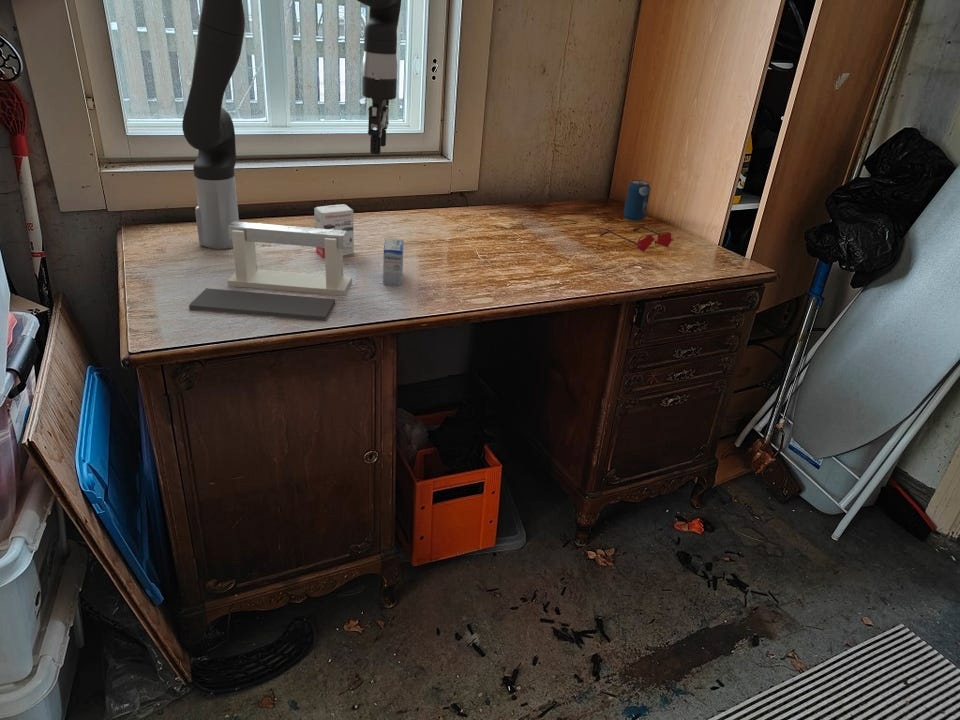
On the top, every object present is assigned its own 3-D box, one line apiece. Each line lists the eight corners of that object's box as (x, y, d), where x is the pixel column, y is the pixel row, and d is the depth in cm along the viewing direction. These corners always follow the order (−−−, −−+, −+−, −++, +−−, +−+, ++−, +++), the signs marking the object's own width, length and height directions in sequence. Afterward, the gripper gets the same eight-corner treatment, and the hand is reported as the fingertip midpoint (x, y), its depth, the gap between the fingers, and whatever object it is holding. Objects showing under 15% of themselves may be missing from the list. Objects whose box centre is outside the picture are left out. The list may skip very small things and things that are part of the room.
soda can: (646, 222, 220) (653, 185, 214) (624, 221, 220) (631, 183, 214) (642, 216, 226) (649, 180, 220) (621, 214, 226) (627, 178, 220)
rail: (229, 239, 150) (227, 226, 148) (235, 234, 153) (233, 221, 152) (343, 249, 150) (343, 235, 148) (346, 243, 153) (346, 230, 152)
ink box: (323, 258, 172) (321, 212, 166) (315, 252, 175) (313, 206, 169) (354, 254, 176) (354, 209, 170) (346, 248, 179) (345, 203, 174)
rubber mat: (189, 309, 141) (188, 305, 140) (206, 292, 149) (206, 288, 148) (325, 321, 141) (325, 316, 140) (335, 303, 149) (335, 299, 148)
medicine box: (384, 272, 166) (384, 238, 162) (402, 273, 167) (403, 239, 163) (382, 285, 160) (383, 249, 155) (402, 286, 160) (402, 250, 156)
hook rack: (228, 285, 153) (222, 231, 147) (240, 272, 160) (235, 220, 154) (344, 295, 153) (343, 241, 147) (351, 282, 160) (351, 230, 154)
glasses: (637, 254, 193) (641, 237, 191) (599, 236, 205) (601, 220, 203) (672, 248, 200) (676, 232, 198) (633, 231, 212) (636, 215, 210)
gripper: (368, 69, 157) (367, 142, 165) (357, 76, 145) (356, 154, 153) (400, 72, 158) (398, 145, 165) (392, 80, 145) (390, 158, 153)
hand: (378, 149), depth 159 cm, fingers open, 8 cm apart
